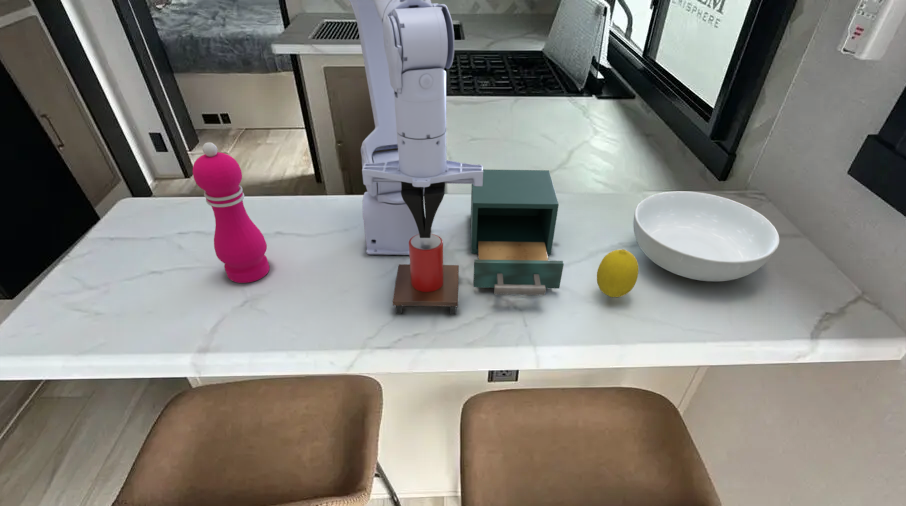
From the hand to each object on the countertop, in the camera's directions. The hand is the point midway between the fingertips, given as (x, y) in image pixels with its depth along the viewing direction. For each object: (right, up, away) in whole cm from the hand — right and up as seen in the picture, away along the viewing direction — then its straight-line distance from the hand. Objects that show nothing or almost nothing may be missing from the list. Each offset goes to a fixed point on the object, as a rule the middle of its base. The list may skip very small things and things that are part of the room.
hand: (425, 234), depth 68 cm
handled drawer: (+13, -4, +10) cm, 17 cm away
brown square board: (0, -8, +7) cm, 10 cm away
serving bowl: (+42, -1, +15) cm, 45 cm away
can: (0, -6, +5) cm, 8 cm away
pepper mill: (-28, -4, +11) cm, 30 cm away
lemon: (+27, -8, +7) cm, 29 cm away
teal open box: (+13, +4, +20) cm, 24 cm away
